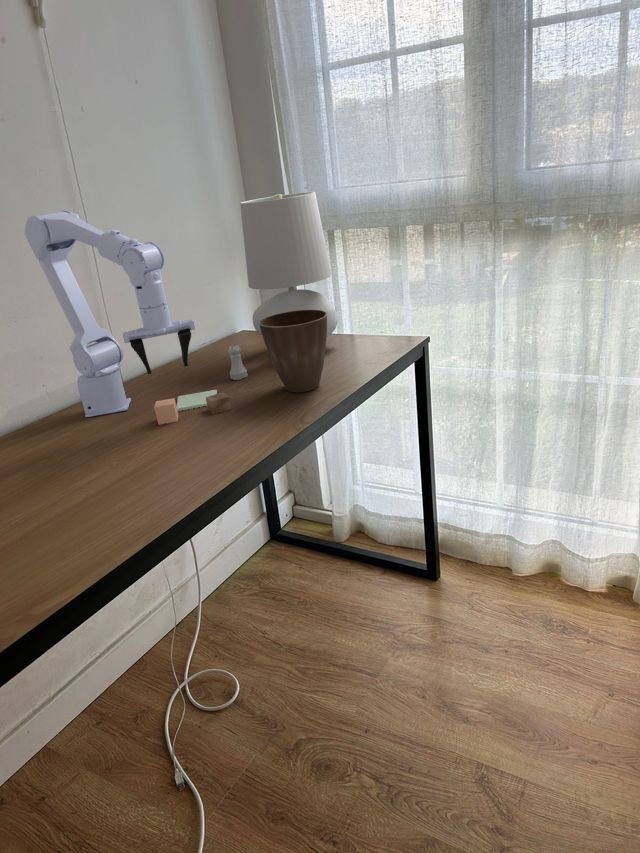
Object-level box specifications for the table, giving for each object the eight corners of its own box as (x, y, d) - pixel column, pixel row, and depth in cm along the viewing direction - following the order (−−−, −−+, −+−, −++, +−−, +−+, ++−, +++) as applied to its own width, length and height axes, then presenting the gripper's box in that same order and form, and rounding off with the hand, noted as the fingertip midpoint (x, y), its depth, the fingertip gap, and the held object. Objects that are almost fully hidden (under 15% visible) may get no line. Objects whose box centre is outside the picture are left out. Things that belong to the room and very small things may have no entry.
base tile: (177, 413, 147) (176, 408, 147) (179, 401, 155) (178, 396, 155) (218, 406, 148) (216, 401, 147) (217, 394, 156) (216, 389, 156)
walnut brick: (214, 414, 142) (211, 401, 141) (208, 410, 145) (205, 397, 144) (231, 409, 144) (229, 396, 142) (225, 405, 147) (222, 392, 146)
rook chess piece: (251, 374, 165) (246, 343, 162) (242, 380, 161) (236, 348, 159) (236, 374, 167) (230, 343, 164) (226, 380, 163) (220, 349, 160)
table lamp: (244, 365, 174) (214, 205, 159) (273, 342, 193) (249, 196, 178) (328, 361, 166) (305, 193, 152) (350, 337, 185) (331, 185, 171)
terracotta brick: (158, 425, 141) (154, 407, 139) (160, 418, 144) (155, 401, 143) (177, 421, 141) (173, 404, 139) (178, 415, 145) (174, 398, 143)
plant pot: (296, 374, 160) (286, 308, 154) (348, 378, 152) (340, 309, 146) (257, 395, 149) (244, 325, 143) (311, 401, 141) (300, 327, 135)
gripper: (117, 315, 131) (134, 381, 136) (191, 301, 134) (204, 366, 139) (116, 309, 137) (132, 372, 142) (186, 296, 140) (199, 358, 145)
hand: (167, 369), depth 141 cm, fingers open, 7 cm apart
